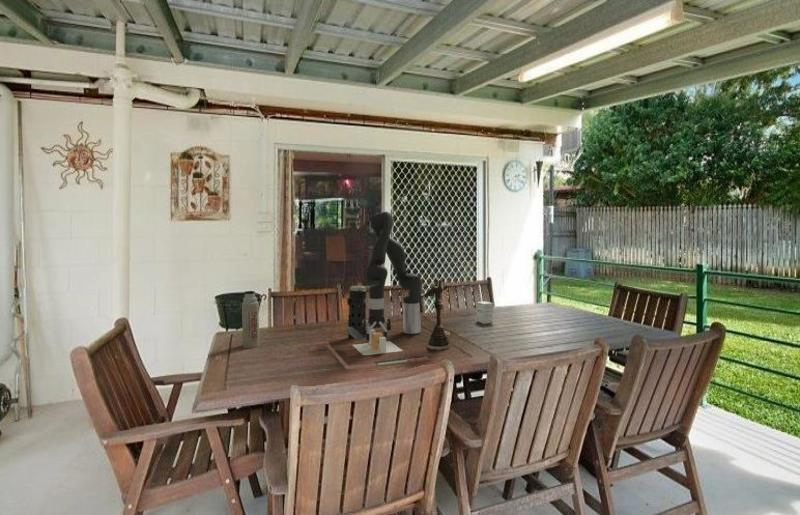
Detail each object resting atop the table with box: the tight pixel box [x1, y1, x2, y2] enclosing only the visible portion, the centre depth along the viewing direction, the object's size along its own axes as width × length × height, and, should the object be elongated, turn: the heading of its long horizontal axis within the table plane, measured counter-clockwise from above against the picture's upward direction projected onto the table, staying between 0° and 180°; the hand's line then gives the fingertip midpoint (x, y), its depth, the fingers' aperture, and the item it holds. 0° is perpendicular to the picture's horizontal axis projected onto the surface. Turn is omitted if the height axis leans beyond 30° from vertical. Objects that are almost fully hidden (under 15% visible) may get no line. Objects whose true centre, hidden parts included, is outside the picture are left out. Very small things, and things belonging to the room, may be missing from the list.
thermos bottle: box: [241, 290, 260, 349], centre depth 234 cm, size 8×8×28 cm
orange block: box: [371, 331, 383, 349], centre depth 224 cm, size 4×8×7 cm, turn 21°
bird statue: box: [420, 279, 451, 351], centre depth 234 cm, size 17×13×35 cm
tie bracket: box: [352, 328, 404, 356], centre depth 226 cm, size 20×19×8 cm
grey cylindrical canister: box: [476, 301, 494, 325], centre depth 288 cm, size 7×7×13 cm
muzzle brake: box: [346, 285, 368, 340], centre depth 250 cm, size 10×28×10 cm
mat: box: [374, 358, 408, 367], centre depth 210 cm, size 14×10×1 cm
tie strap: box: [345, 326, 364, 341], centre depth 221 cm, size 3×19×2 cm, turn 21°
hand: (376, 339), depth 225 cm, fingers open, 8 cm apart
